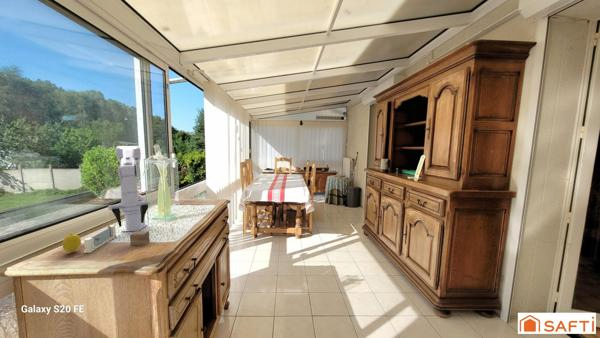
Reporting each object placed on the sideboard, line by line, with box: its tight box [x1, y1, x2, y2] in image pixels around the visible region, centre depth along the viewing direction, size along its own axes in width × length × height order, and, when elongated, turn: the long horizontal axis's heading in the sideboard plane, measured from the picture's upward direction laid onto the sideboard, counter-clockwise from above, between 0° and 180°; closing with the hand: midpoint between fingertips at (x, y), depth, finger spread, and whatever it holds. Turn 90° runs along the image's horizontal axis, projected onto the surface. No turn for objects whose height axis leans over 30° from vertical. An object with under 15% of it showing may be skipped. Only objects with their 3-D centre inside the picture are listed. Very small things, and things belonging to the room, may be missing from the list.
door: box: [90, 225, 111, 247], centre depth 105 cm, size 12×2×5 cm, turn 11°
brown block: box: [129, 230, 151, 247], centre depth 105 cm, size 4×6×5 cm, turn 101°
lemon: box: [61, 233, 82, 253], centre depth 96 cm, size 6×6×8 cm
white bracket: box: [83, 224, 117, 254], centre depth 105 cm, size 18×2×5 cm, turn 11°
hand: (131, 224), depth 99 cm, fingers open, 7 cm apart
